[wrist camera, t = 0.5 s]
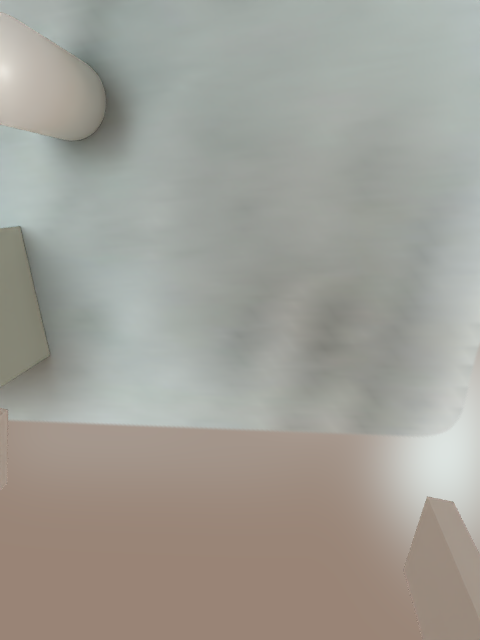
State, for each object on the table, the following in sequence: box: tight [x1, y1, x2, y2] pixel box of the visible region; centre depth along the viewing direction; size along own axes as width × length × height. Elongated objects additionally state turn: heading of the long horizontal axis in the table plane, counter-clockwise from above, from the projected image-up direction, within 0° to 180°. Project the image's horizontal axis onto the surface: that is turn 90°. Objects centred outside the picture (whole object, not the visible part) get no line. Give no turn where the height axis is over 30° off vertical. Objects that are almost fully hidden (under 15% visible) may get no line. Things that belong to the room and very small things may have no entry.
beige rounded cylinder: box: [0, 12, 106, 141], centre depth 31 cm, size 6×6×9 cm
